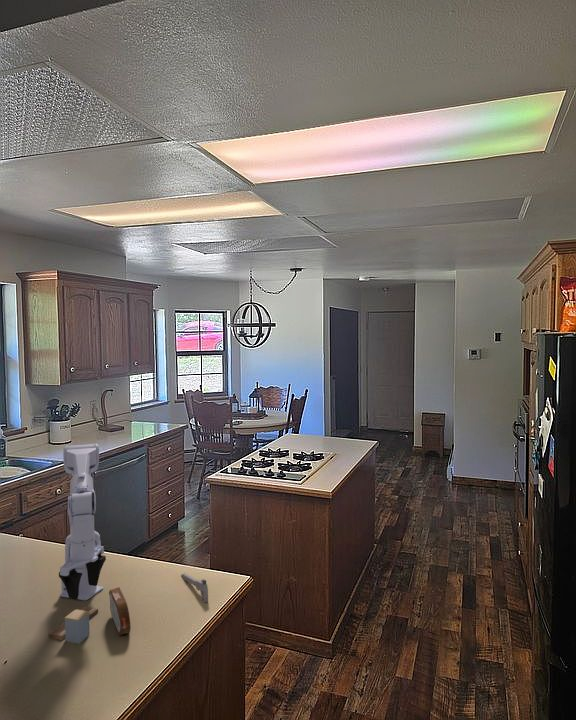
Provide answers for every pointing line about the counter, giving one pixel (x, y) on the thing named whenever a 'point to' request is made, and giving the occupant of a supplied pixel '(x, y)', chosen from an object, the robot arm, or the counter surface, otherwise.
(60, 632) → the board
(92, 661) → the counter surface
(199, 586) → the caliper
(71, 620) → the tan grey block
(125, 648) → the counter surface
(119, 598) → the tin
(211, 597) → the counter surface
